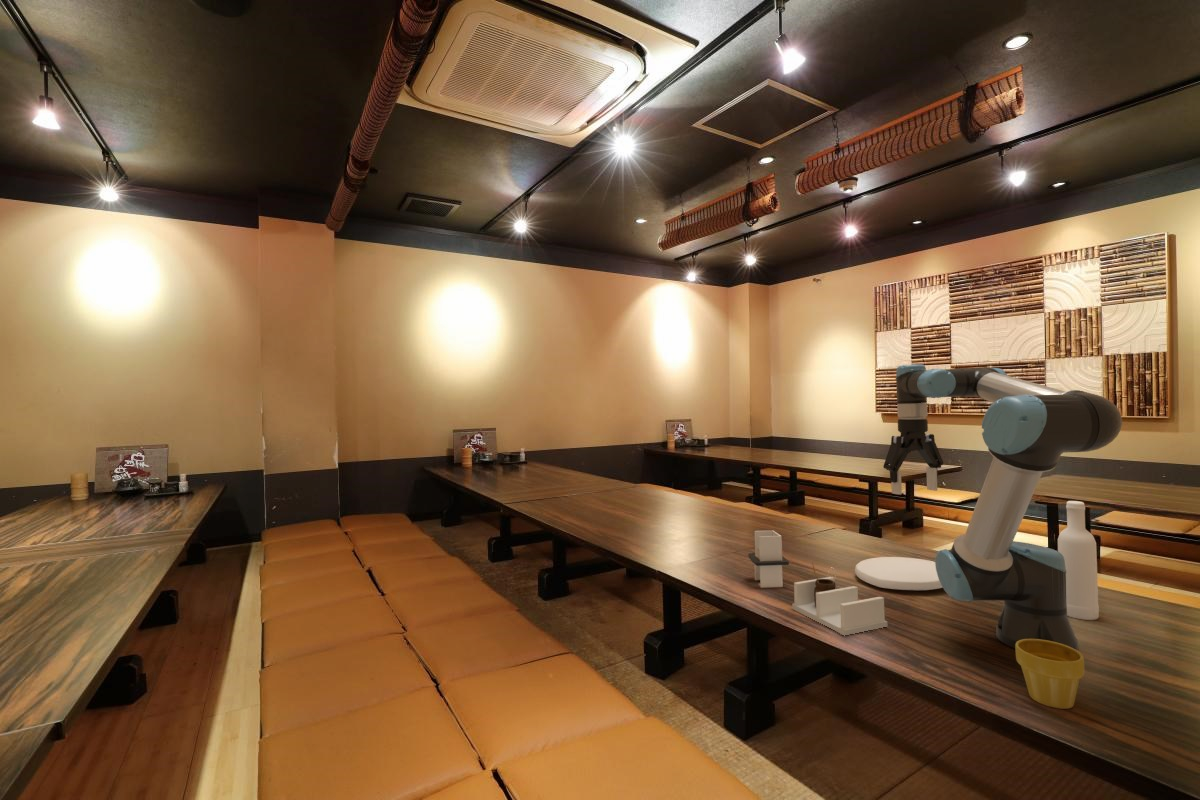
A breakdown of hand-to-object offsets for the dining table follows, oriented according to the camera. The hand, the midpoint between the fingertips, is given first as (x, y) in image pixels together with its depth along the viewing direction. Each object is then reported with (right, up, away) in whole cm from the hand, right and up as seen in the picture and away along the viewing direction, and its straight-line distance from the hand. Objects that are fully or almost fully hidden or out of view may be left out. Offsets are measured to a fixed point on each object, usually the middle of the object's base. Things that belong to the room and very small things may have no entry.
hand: (914, 492), depth 157 cm
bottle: (+37, -31, -12) cm, 50 cm away
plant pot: (-3, -32, -51) cm, 60 cm away
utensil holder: (-28, -31, -6) cm, 42 cm away
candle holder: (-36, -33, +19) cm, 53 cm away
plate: (+7, -32, +18) cm, 37 cm away
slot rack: (-26, -32, -10) cm, 43 cm away
